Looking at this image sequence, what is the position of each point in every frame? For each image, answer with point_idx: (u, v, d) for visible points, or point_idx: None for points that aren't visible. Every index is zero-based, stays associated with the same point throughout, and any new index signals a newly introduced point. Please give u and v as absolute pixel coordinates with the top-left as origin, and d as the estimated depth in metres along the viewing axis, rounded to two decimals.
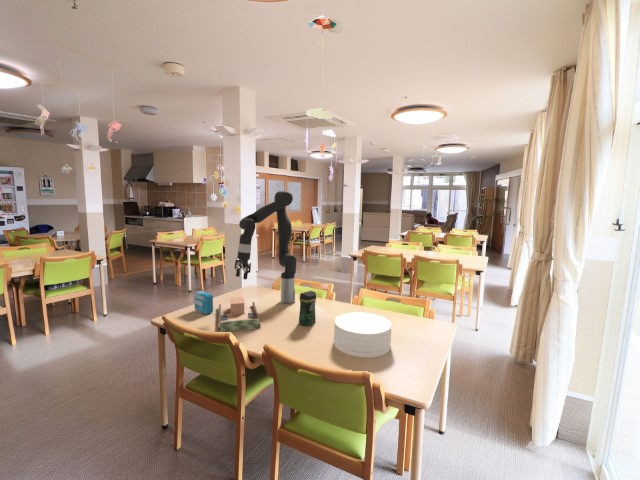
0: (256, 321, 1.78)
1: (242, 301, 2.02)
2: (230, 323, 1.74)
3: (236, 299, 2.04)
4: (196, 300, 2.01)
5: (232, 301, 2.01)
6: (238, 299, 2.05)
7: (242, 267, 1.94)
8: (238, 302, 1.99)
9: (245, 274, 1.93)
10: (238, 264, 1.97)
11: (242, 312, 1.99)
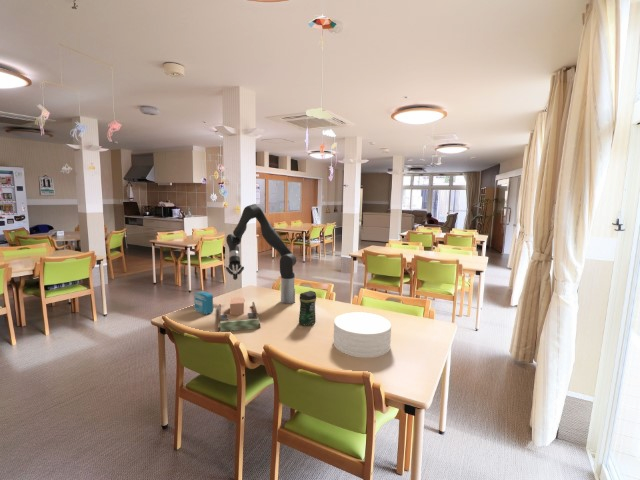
0: (256, 321, 1.78)
1: (242, 301, 2.01)
2: (230, 323, 1.74)
3: (236, 299, 2.04)
4: (196, 300, 2.01)
5: (231, 301, 2.02)
6: (238, 299, 2.05)
7: None
8: (238, 302, 1.99)
9: (233, 275, 2.25)
10: None
11: (241, 312, 1.99)
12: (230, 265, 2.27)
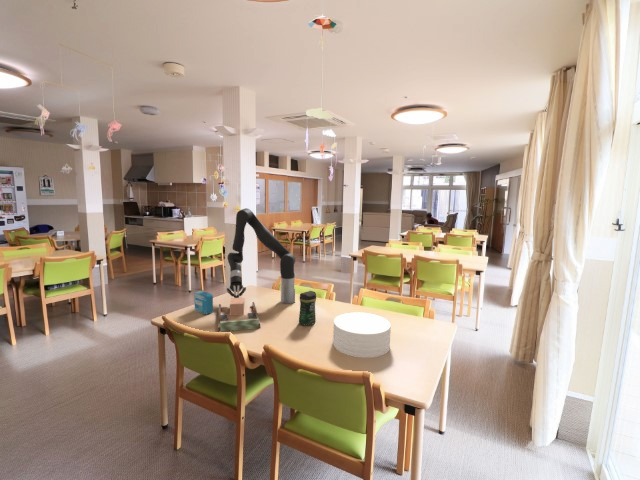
0: (256, 321, 1.78)
1: (242, 302, 2.00)
2: (230, 323, 1.74)
3: (236, 300, 2.03)
4: (196, 300, 2.01)
5: (231, 301, 2.01)
6: (238, 299, 2.04)
7: None
8: (238, 303, 1.98)
9: (234, 297, 2.11)
10: None
11: (241, 313, 1.98)
12: (231, 286, 2.13)
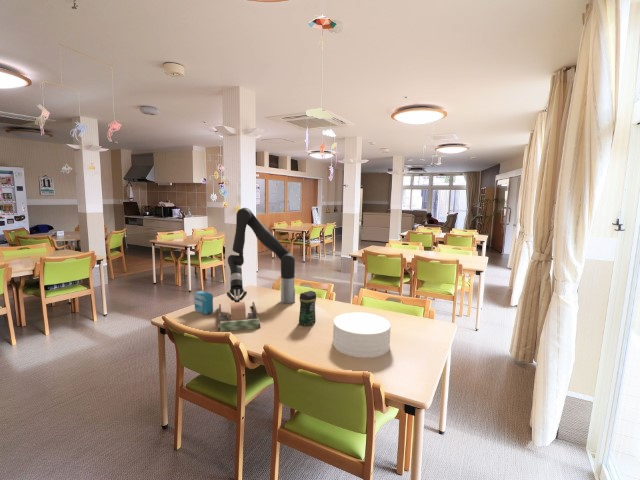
0: (256, 321, 1.78)
1: (243, 306, 1.92)
2: (230, 323, 1.74)
3: (237, 305, 1.95)
4: (196, 300, 2.01)
5: (232, 306, 1.92)
6: (239, 304, 1.96)
7: None
8: (239, 308, 1.90)
9: None
10: None
11: (243, 318, 1.90)
12: (231, 290, 2.05)
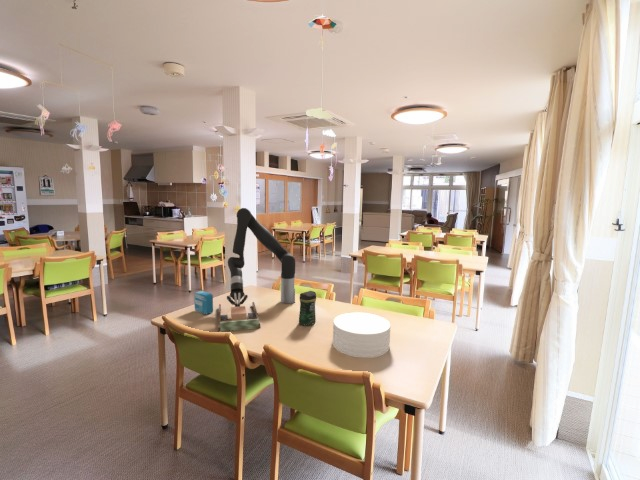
0: (256, 321, 1.78)
1: (244, 311, 1.85)
2: (230, 323, 1.74)
3: (237, 309, 1.87)
4: (196, 300, 2.01)
5: (232, 311, 1.84)
6: (239, 308, 1.88)
7: None
8: (240, 312, 1.82)
9: (235, 306, 1.95)
10: None
11: None
12: (232, 294, 1.97)
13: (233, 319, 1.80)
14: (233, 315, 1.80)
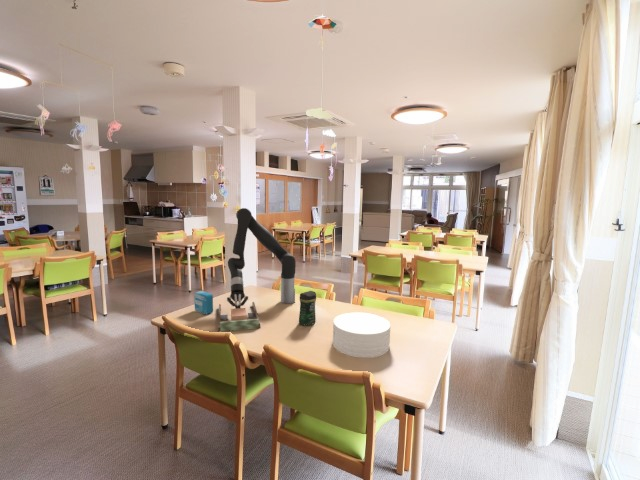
0: (256, 321, 1.78)
1: (244, 313, 1.82)
2: (230, 323, 1.74)
3: (237, 311, 1.84)
4: (196, 300, 2.01)
5: (232, 313, 1.82)
6: (240, 310, 1.86)
7: None
8: (240, 314, 1.79)
9: None
10: None
11: None
12: (232, 295, 1.95)
13: None
14: (233, 317, 1.77)
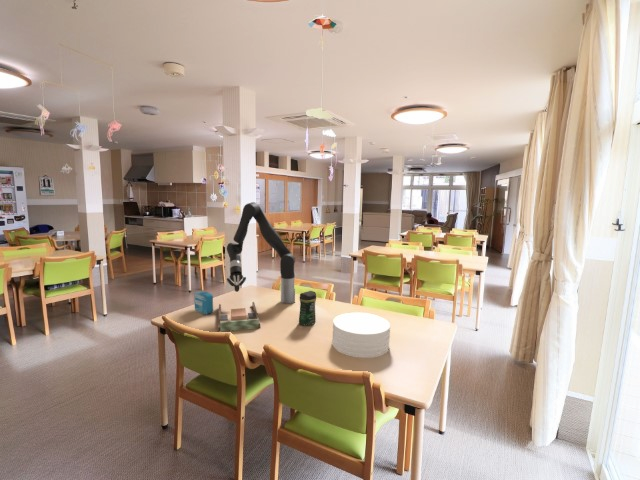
0: (256, 321, 1.78)
1: (244, 313, 1.82)
2: (230, 323, 1.74)
3: (237, 311, 1.84)
4: (196, 300, 2.01)
5: (232, 313, 1.81)
6: (239, 310, 1.85)
7: None
8: (240, 315, 1.79)
9: None
10: None
11: None
12: (231, 276, 2.13)
13: None
14: (233, 317, 1.77)
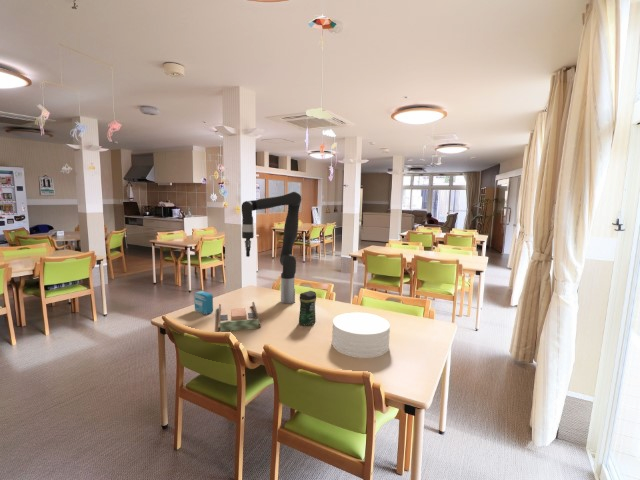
0: (256, 321, 1.78)
1: (244, 313, 1.82)
2: (230, 323, 1.74)
3: (237, 311, 1.84)
4: (196, 300, 2.01)
5: (232, 313, 1.81)
6: (239, 310, 1.85)
7: (245, 245, 2.18)
8: (240, 315, 1.79)
9: (246, 252, 2.19)
10: None
11: None
12: (249, 241, 2.17)
13: None
14: (233, 317, 1.77)
